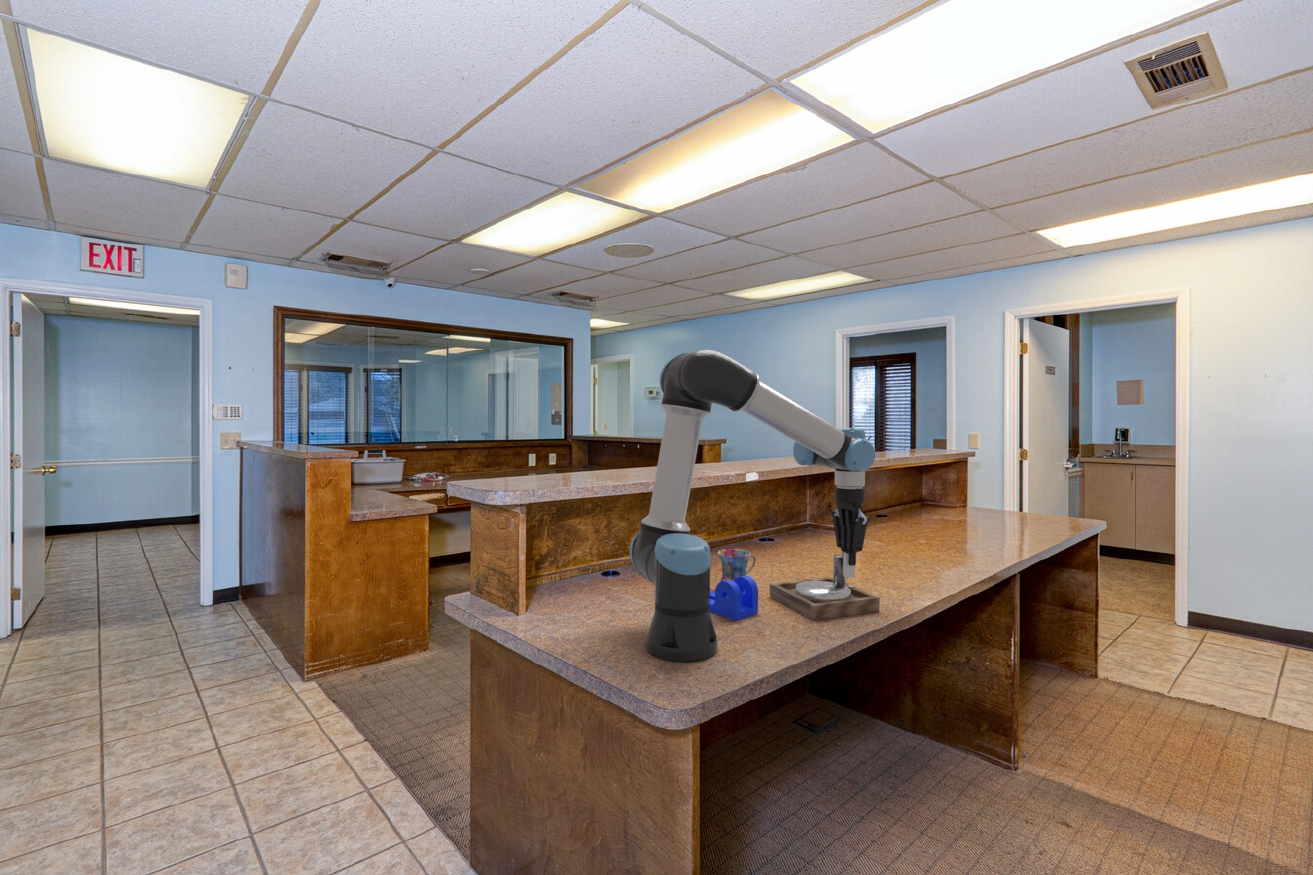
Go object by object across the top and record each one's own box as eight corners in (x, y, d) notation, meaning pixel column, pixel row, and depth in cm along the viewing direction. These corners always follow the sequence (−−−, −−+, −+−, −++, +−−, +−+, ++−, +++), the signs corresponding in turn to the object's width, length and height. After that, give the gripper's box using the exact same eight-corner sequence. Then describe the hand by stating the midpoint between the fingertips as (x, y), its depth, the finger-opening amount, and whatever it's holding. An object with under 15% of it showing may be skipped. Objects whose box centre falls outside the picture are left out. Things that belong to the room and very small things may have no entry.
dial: (819, 607, 151) (820, 567, 151) (784, 591, 164) (785, 554, 163) (862, 599, 157) (863, 561, 157) (825, 585, 170) (826, 550, 169)
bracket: (757, 614, 152) (758, 578, 152) (735, 621, 147) (735, 584, 146) (706, 596, 166) (707, 564, 165) (684, 602, 160) (684, 569, 160)
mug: (729, 596, 166) (729, 557, 165) (710, 587, 174) (711, 550, 174) (764, 590, 172) (765, 553, 171) (745, 582, 180) (745, 546, 179)
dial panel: (813, 620, 148) (813, 605, 147) (769, 596, 166) (769, 582, 166) (879, 611, 155) (879, 596, 155) (830, 589, 173) (830, 576, 173)
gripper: (878, 489, 154) (877, 581, 154) (846, 484, 166) (845, 569, 166) (854, 490, 151) (853, 584, 152) (822, 485, 163) (822, 572, 164)
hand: (848, 576), depth 159 cm, fingers closed
